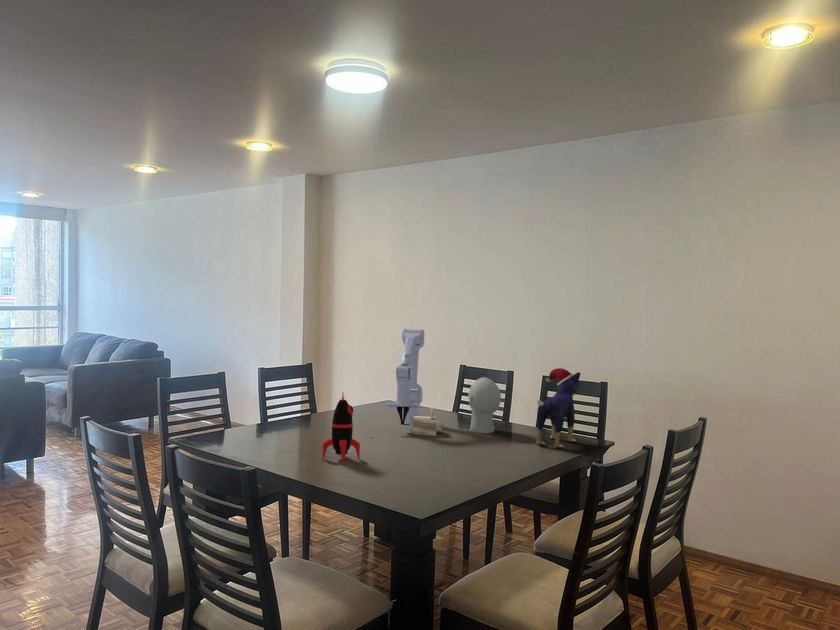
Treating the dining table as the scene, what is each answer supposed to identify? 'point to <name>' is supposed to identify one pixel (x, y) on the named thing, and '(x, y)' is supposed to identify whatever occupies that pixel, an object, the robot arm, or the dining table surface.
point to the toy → (559, 405)
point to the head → (483, 404)
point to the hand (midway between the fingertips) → (402, 424)
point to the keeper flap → (431, 413)
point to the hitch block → (424, 425)
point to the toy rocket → (342, 430)
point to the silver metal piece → (439, 430)
